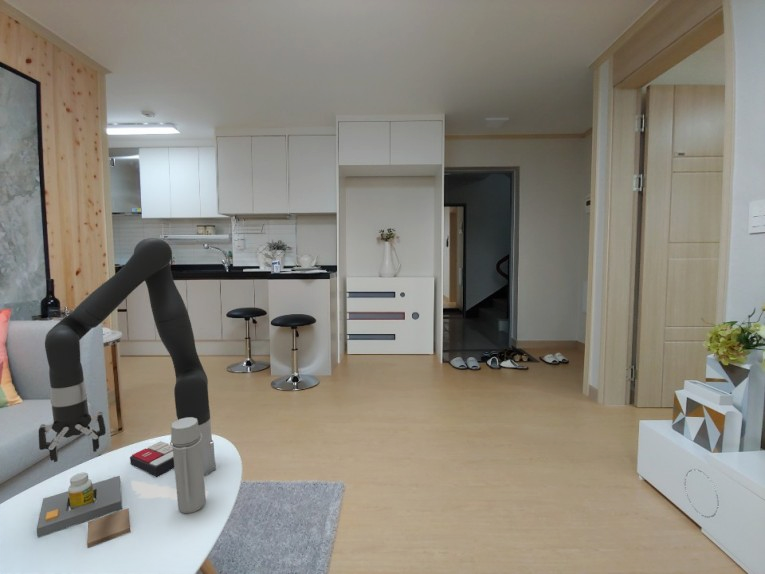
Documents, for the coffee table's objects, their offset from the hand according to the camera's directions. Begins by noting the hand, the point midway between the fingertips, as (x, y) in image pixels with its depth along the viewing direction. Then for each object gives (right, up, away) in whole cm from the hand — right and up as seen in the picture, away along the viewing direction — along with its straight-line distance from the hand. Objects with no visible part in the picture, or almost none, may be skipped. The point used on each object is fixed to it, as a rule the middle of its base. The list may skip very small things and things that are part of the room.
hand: (75, 455), depth 109 cm
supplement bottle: (0, -16, +2) cm, 16 cm away
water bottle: (+31, -16, +2) cm, 35 cm away
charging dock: (0, -16, +2) cm, 16 cm away
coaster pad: (+13, -17, -6) cm, 22 cm away
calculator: (+10, -13, +24) cm, 29 cm away
